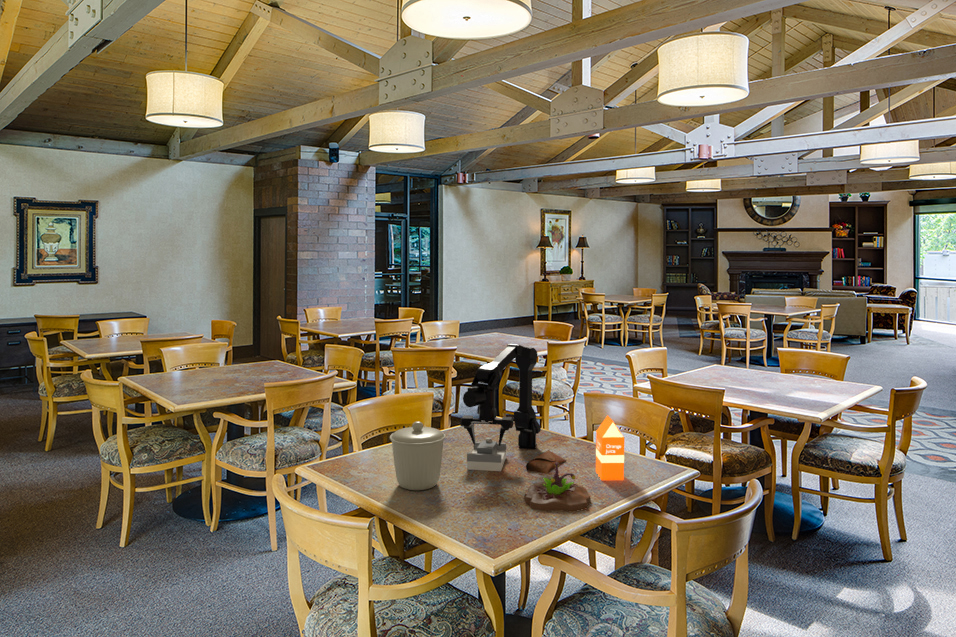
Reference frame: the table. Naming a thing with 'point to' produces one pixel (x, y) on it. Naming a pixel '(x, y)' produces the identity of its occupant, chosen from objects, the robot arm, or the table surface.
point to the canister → (417, 456)
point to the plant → (557, 494)
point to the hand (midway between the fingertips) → (486, 445)
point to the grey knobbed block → (487, 447)
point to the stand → (487, 459)
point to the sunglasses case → (544, 462)
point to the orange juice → (609, 451)
